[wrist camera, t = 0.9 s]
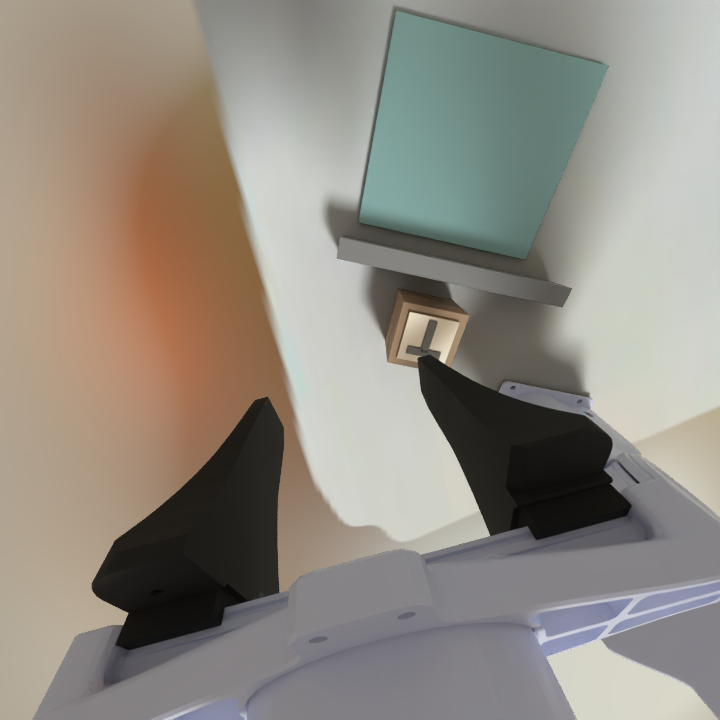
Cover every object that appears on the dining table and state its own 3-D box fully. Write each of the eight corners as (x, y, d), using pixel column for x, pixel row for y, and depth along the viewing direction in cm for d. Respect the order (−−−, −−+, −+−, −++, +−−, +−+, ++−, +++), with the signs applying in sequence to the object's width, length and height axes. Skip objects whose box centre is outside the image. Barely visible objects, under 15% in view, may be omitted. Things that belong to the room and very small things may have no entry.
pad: (604, 69, 18) (608, 65, 18) (523, 259, 24) (525, 259, 23) (395, 14, 18) (396, 10, 17) (358, 222, 23) (358, 222, 23)
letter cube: (452, 300, 25) (471, 316, 21) (435, 350, 27) (448, 376, 23) (398, 288, 25) (404, 302, 20) (385, 339, 27) (387, 364, 22)
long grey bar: (549, 281, 24) (572, 288, 21) (541, 298, 25) (562, 307, 22) (343, 236, 23) (339, 237, 21) (340, 255, 24) (336, 258, 21)
